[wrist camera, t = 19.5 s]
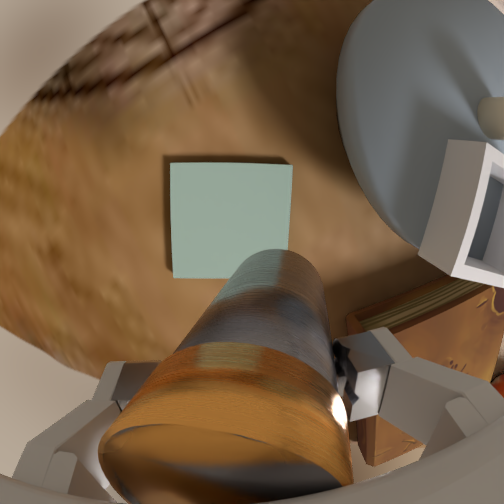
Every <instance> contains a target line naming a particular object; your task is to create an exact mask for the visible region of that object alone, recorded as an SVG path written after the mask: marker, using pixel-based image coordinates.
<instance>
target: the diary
mask: <svg viewBox="0 0 504 504" xmlns="http://www.w3.org/2000/svg"><path fill="white" fill-rule="evenodd" d="M346 322H347V329H348V336H349V335H354V334H358V333H363V332H367V331H369V330H373V329H377V328H381V327H386V328H387V329H388V330H389V331H390V332H391V333H392V334H393V335H394V337H395V338H396V339H397V340H398V341H399V342H400V344H401V345H402V346H403V347H404V348H405V349H406V351H407V352H408V353H409V354H410V355H411V356H412V358H415V357H419V358H422V359H425V360H428V361H430V362H433V363H436V364H439V365H442V366H445V367H447V368H450V369H453V370H456V371H459V372H462V373H465V374H468V375H471V376H474V377H477V378H480V379H483V380H486V381H488V382H489V383H490V381H491V378H492V375H493V372H494V368H495V365H496V361H497V358H498V354H499V350H500V346H501V342H502V338H503V334H504V288H501V287H497V286H492V285H488V284H483V283H479V282H475V281H470V280H466V279H461V278H457V277H452V276H450V275H446V276H443V277H441V278H439V279H436V280H434V281H432V282H429V283H427V284H425V285H422V286H420V287H417V288H415V289H412V290H410V291H407V292H405V293H402V294H400V295H397V296H395V297H392V298H390V299H387V300H384V301H382V302H379V303H376V304H374V305H371V306H368V307H365V308H363V309H360V310H357V311H354V312H352V313H349V314H348V315H347V317H346ZM357 436H358V446H359V448H360V450H361V453H362V455H363V457H364V460H365V462H366V464H368V465H371V466H377V465H380V464H382V463H384V462H386V461H389V460H391V459H394V458H396V457H398V456H400V455H402V454H404V453H407V452H409V451H411V450H413V449H415V448H417V447H419V446H421V445H423V443H422V442H420V441H418V440H417V439H415V438H413V437H412V436H410V435H408V434H407V433H405V432H404V431H402V430H400V429H399V428H397V427H396V426H394V425H392V424H391V423H389V422H388V421H386V420H385V419H383V418H381V417H380V416H379V414H378V415H374V416H371V417H367V418H363V419H359V420H357Z"/></svg>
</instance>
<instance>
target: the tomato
mask: <svg viewBox="0 0 504 504" xmlns="http://www.w3.org/2000/svg"><path fill="white" fill-rule="evenodd" d="M490 384H491V385H492V386H493V387H494V388H495V389H496V390H497V391H498V392H499V393H500V395H501V396H502V397H503V398H504V374H501V375H500V376H498V377H496V378H495V379H494V380H493V382H491V383H490Z"/></svg>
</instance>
